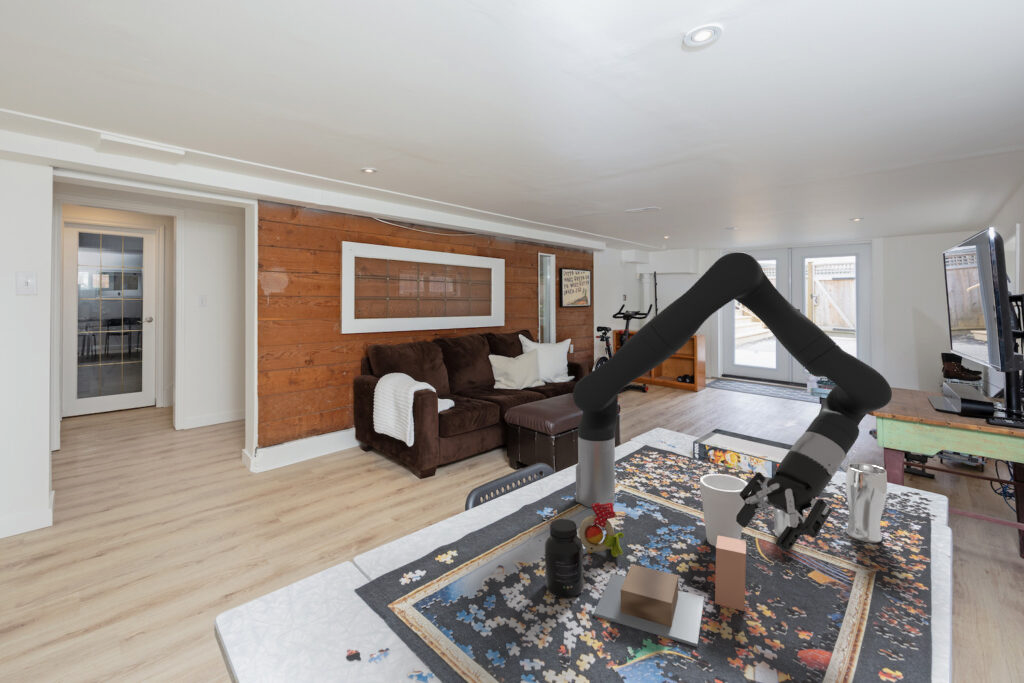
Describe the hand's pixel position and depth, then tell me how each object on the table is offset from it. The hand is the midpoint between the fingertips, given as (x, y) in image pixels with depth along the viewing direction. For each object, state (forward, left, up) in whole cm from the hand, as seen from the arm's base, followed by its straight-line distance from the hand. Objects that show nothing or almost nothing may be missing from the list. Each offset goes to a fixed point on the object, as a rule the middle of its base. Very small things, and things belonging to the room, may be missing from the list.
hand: (759, 535), depth 80 cm
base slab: (-16, -12, -10) cm, 23 cm away
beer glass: (+21, +31, -11) cm, 38 cm away
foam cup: (-6, +16, -11) cm, 20 cm away
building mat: (-16, -12, -10) cm, 23 cm away
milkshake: (+6, +24, -11) cm, 27 cm away
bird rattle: (-28, +1, -11) cm, 30 cm away
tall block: (-4, -4, -10) cm, 12 cm away
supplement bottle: (-31, -13, -11) cm, 36 cm away
